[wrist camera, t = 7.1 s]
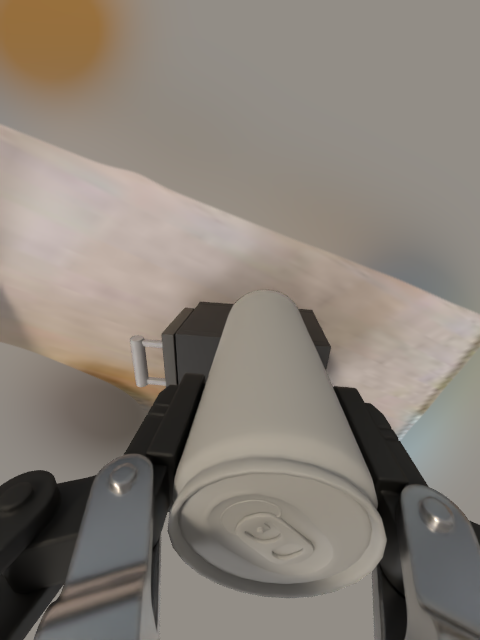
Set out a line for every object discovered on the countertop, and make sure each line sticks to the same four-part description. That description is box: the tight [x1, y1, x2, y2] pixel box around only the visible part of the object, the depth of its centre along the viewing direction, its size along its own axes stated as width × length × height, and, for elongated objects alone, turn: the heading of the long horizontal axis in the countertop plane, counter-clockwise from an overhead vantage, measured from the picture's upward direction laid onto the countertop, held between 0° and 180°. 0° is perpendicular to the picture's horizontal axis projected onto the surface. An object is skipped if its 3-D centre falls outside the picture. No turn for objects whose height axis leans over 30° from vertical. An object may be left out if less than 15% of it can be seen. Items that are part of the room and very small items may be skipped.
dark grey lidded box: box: [175, 302, 331, 384], centre depth 28 cm, size 14×12×9 cm
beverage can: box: [168, 290, 387, 598], centre depth 11 cm, size 5×5×12 cm
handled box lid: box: [130, 308, 194, 388], centre depth 28 cm, size 17×10×7 cm, turn 87°
